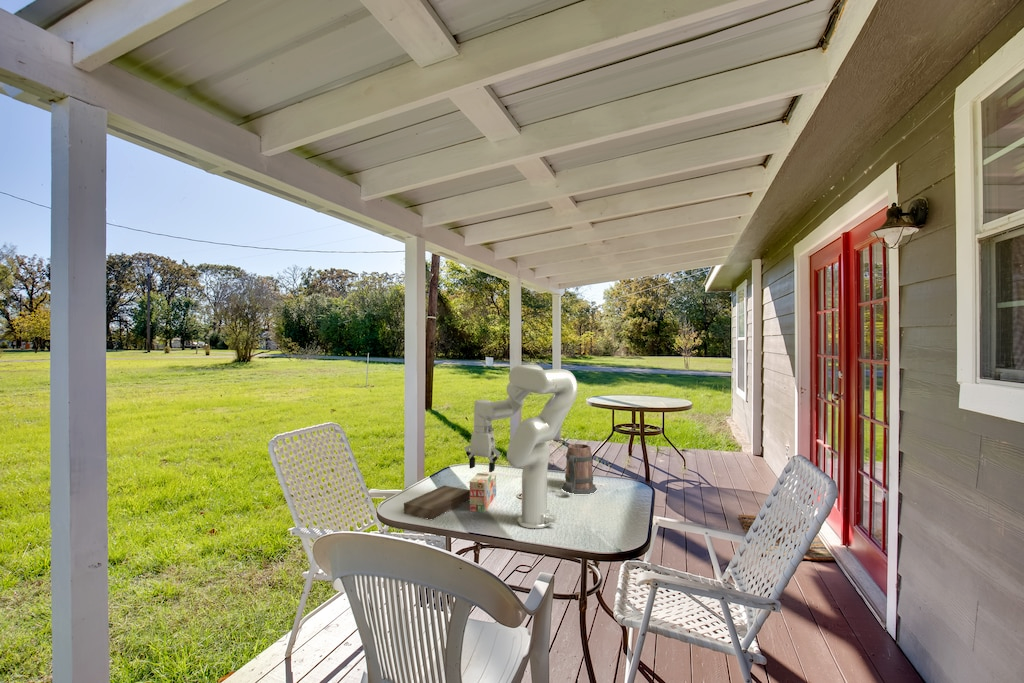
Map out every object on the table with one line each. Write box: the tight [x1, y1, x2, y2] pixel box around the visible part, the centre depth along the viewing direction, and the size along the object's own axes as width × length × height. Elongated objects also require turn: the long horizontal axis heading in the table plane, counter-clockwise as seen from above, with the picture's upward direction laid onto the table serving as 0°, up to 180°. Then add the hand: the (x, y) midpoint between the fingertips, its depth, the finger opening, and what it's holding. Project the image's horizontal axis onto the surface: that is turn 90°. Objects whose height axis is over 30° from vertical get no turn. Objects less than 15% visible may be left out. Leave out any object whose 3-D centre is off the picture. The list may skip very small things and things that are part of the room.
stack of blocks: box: [469, 472, 497, 513], centre depth 193 cm, size 21×6×12 cm, turn 169°
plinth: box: [403, 485, 470, 520], centre depth 189 cm, size 14×26×4 cm, turn 151°
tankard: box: [561, 443, 598, 494], centre depth 209 cm, size 24×17×20 cm
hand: (481, 469), depth 193 cm, fingers open, 9 cm apart
